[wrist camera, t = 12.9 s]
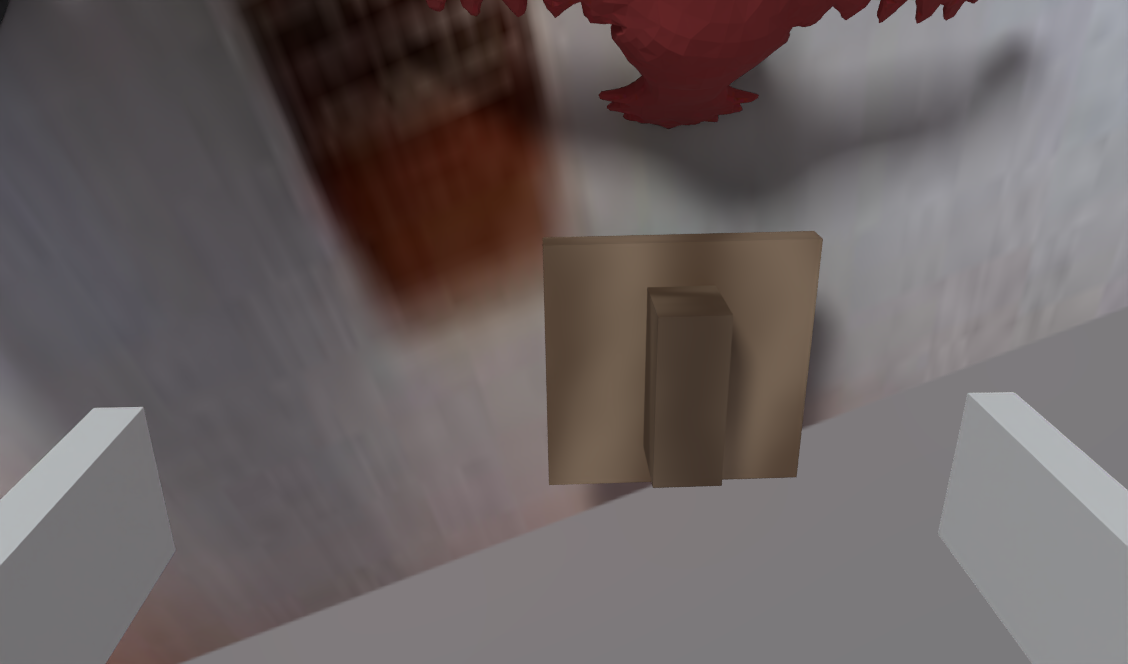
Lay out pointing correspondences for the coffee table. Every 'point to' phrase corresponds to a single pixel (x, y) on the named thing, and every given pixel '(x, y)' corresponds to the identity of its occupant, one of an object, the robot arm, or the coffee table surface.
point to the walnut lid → (677, 355)
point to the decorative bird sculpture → (700, 46)
